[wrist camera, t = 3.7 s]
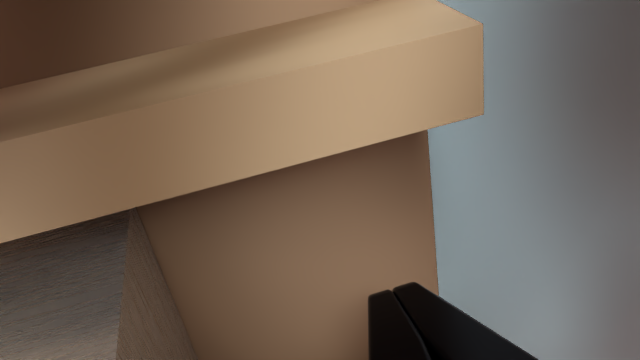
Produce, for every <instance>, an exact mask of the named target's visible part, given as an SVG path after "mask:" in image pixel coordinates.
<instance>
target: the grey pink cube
mask: <svg viewBox="0 0 640 360" xmlns="http://www.w3.org/2000/svg"><path fill="white" fill-rule="evenodd" d="M0 360H198V358H197V356H196V353H195V351H194V348H193V346H192V344H191V341H190V339H189V336H188V334H187V331H186V329H185V326H184V324H183V322H182V319H181V317H180V314H179V312H178V309H177V307H176V305H175V302H174V300H173V297H172V295H171V292H170V290H169V288H168V285H167V283H166V280H165V278H164V275H163V273H162V271H161V268H160V266H159V263H158V261H157V258H156V256H155V254H154V251H153V249H152V246H151V244H150V241H149V239H148V237H147V234H146V232H145V229H144V227H143V224H142V222H141V220H140V217H139V215H138V212H137V210H136V207H135V208H131V209H127V210H124V211H120V212H116V213H112V214H109V215H105V216H101V217H97V218H94V219H90V220H86V221H82V222H79V223H75V224H71V225H67V226H64V227H60V228H56V229H52V230H49V231H45V232H41V233H37V234H34V235H30V236H26V237H22V238H19V239H15V240H11V241H7V242H4V243H0Z"/></svg>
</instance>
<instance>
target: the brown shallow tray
mask: <svg viewBox="0 0 640 360" xmlns="http://www.w3.org/2000/svg"><path fill="white" fill-rule="evenodd" d="M483 114H484V87H483V24H482V23H480V22H478V21H476V20H474V19H472V18H470V17H468V16H466V15H464V14H462V13H460V12H458V11H456V10H454V9H452V8H450V7H448V6H446V5H444V4H442V3H440V2H438V1H436V0H0V243H4V242H7V241H11V240H15V239H19V238H22V237H26V236H30V235H34V234H37V233H41V232H45V231H49V230H52V229H56V228H60V227H64V226H67V225H71V224H75V223H79V222H82V221H86V220H90V219H94V218H97V217H101V216H105V215H109V214H112V213H116V212H120V211H124V210H127V209H131V208H135V207H136V210H137V212H138V215H139V217H140V220H141V222H142V224H143V227H144V229H145V232H146V234H147V237H148V239H149V241H150V244H151V246H152V249H153V251H154V254H155V256H156V258H157V261H158V263H159V266H160V268H161V271H162V273H163V275H164V278H165V280H166V283H167V285H168V288H169V290H170V292H171V295H172V297H173V300H174V302H175V305H176V307H177V309H178V312H179V314H180V317H181V319H182V322H183V324H184V326H185V329H186V331H187V334H188V336H189V339H190V341H191V344H192V346H193V348H194V351H195V353H196V356H197V358H198V360H368V296H369V295H371V294H374V293H377V292H380V291H384V290H387V289H389V290H391V291H392V290H393V288H394V287H397V286H400V285H403V284H406V283H410V282H416V283H418V284H420V285H422V286H423V287H425V288H426V289H428V290H429V291H431V292H433V293H434V294H436V295H437V296H439V292H438V278H437V263H436V248H435V234H434V219H433V204H432V189H431V175H430V160H429V145H428V131H427V129H431V128H435V127H438V126H442V125H446V124H450V123H453V122H457V121H461V120H465V119H468V118H472V117H476V116H480V115H483Z"/></svg>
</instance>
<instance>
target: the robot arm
mask: <svg viewBox="0 0 640 360" xmlns="http://www.w3.org/2000/svg"><path fill="white" fill-rule="evenodd" d="M368 360H538V359H537V358H535V357H533V356H532V355H530V354H529V353H527V352H526V351H524V350H522V349H521V348H519V347H518V346H516V345H515V344H513V343H511V342H510V341H508V340H507V339H505V338H504V337H502V336H500V335H499V334H497V333H496V332H494V331H493V330H491V329H489V328H488V327H486V326H485V325H483V324H481V323H480V322H478V321H477V320H475V319H474V318H472V317H470V316H469V315H467V314H466V313H464V312H463V311H461V310H459V309H458V308H456V307H455V306H453V305H452V304H450V303H448V302H447V301H445V300H444V299H442V298H441V297H439V296H437V295H436V294H434V293H433V292H431V291H429V290H428V289H426V288H425V287H423V286H422V285H420V284H418V283H416V282H410V283H406V284H403V285H400V286H397V287H394V288H393V290H392V291H391V290H389V289H387V290H384V291H380V292H377V293H374V294H371V295H369V296H368Z"/></svg>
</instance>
